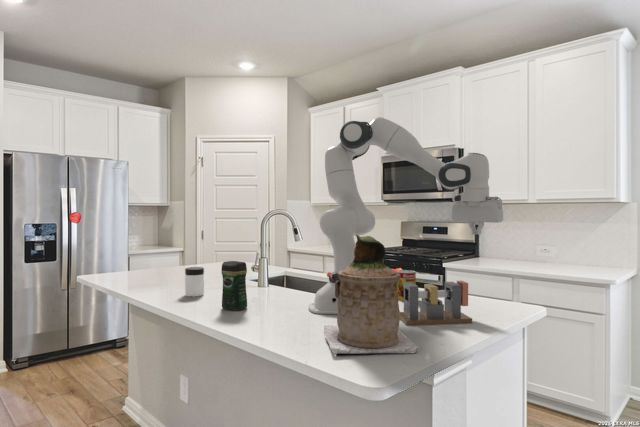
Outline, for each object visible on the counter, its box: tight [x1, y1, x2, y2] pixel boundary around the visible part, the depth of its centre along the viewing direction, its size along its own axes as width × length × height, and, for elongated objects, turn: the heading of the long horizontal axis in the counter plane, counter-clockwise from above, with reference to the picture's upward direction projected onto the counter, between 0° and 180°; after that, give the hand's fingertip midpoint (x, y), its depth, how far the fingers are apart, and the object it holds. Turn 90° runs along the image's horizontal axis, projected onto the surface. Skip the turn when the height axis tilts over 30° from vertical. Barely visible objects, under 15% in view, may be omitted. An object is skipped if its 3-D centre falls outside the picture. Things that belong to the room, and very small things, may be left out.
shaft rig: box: [400, 281, 473, 326], centre depth 156 cm, size 23×12×12 cm, turn 96°
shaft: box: [418, 280, 469, 307], centre depth 156 cm, size 19×5×8 cm, turn 96°
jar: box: [184, 266, 205, 298], centre depth 201 cm, size 9×8×12 cm
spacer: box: [423, 283, 439, 305], centre depth 156 cm, size 2×6×6 cm, turn 8°
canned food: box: [396, 269, 417, 302], centre depth 189 cm, size 8×8×12 cm
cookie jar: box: [323, 234, 419, 356], centre depth 131 cm, size 25×25×32 cm
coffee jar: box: [220, 260, 248, 311], centre depth 174 cm, size 10×8×19 cm
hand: (476, 234), depth 165 cm, fingers closed
